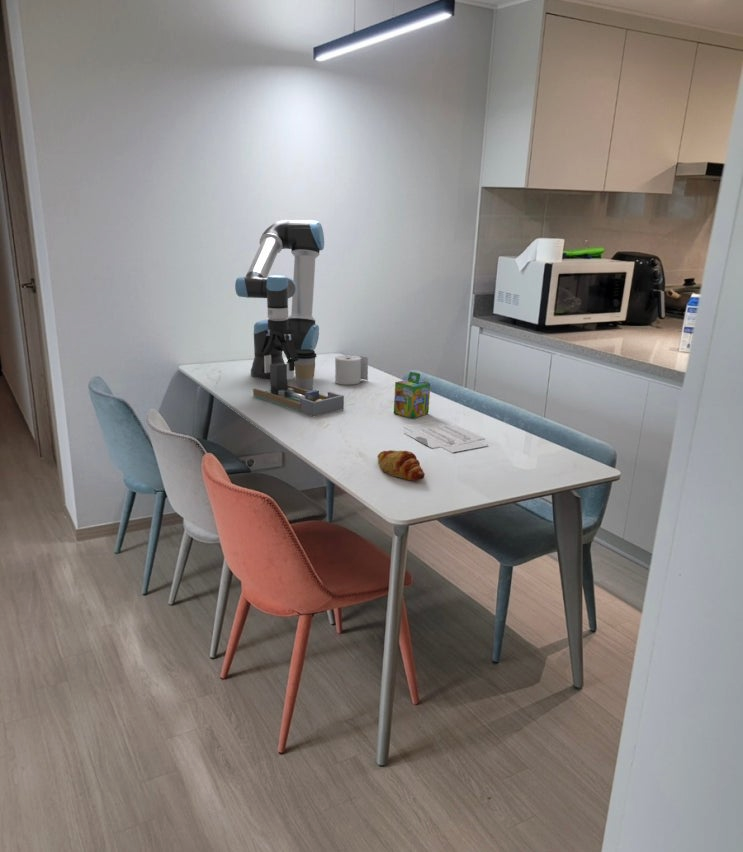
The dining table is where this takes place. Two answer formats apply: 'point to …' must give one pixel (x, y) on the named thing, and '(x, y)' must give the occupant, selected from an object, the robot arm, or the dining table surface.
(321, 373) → the dining table surface
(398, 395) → the chalk box
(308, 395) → the striker rod
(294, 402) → the lane
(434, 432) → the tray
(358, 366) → the toilet tissue
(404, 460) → the croissant
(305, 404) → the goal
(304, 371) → the coffee cup
